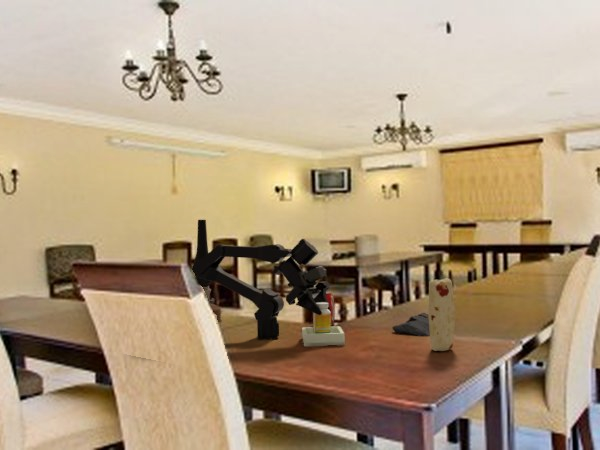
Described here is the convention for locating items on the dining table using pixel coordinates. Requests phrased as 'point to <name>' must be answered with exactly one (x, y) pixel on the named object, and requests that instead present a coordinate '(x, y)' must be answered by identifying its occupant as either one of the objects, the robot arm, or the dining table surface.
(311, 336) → the bin
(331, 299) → the soda can
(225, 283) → the robot arm
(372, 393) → the dining table surface
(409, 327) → the dark slate chunk
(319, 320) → the supplement bottle
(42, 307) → the dining table surface
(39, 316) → the dining table surface
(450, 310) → the food model
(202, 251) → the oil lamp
